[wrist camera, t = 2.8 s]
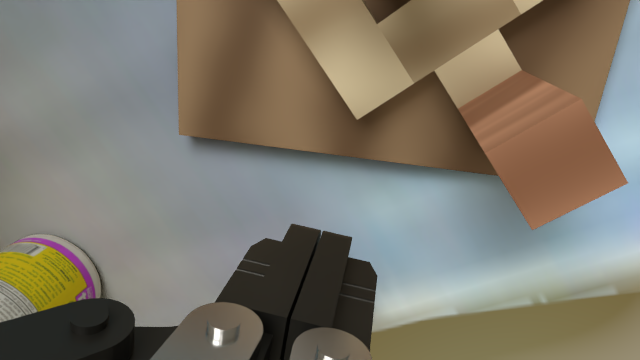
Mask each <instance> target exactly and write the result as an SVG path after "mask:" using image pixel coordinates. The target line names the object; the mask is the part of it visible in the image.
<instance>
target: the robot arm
mask: <svg viewBox="0 0 640 360" xmlns="http://www.w3.org/2000/svg"><path fill="white" fill-rule="evenodd" d="M320 236H321V238H320ZM351 241H352V237H348V236H344V235H340V234H335V233H331V232H327V231H323V232H322V235H321V230H318V229H313V228H309V227H305V226H300V225H296V224H291V226H290V228H289V229H288V231H287V233H286V235H285V237H284V239H283V241H282V242H280V241H276V240H272V239H268V238H265V239H263V240H262V241H260V242H258V243H256V244H254V245H252V246H251V247H250V249H249V250H248V252H247V253H246V255H245V256H244V258H243V260H242V261H241V263H240V264H239V266H238V267H237V270H235V272H234V273H233V275H232V277H231V278H230V280H229V281H228V283H227V284H226V286H225V287H224V289H223V290H222V292H221V294H220V295H219V297H218V298H217V300H216V301H215V303H210V304H206V305H203V306H200V307H198V308H196V309H195V310H193V311H192V312H191V313H190V314H188V315H187V317H186V318H185V319H184V320H183V321H182V322H181V324H180V325H179V326H174V327H135V317H134V314H133V312H132V310H131V309H130V308H129V307H128V306H126V305H125V304H123V303H121V302H119V301H115V300H112V299H106V298H90V299H83V300H79V301H75V302H71V303H67V304H64V305H60V306H57V307H53V308H50V309H46V310H43V311H39V312H36V313H32V314H28V315H25V316H21V317H18V318H14V319H11V320H7V321H4V322H0V360H372V357H371V354H370V342H371V332H372V322H373V312H374V302H375V293H376V292H375V291H376V283H377V275H376V273H375V271H374V269H373V267H372V266H371V264H370V262H366V261H362V260H358V259H353V258H349V257H348V255H349V250H350V246H351Z"/></svg>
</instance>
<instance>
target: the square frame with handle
mask: <svg viewBox="0 0 640 360" xmlns="http://www.w3.org/2000/svg"><path fill="white" fill-rule="evenodd" d="M277 1H278V2H279V4H280V5H281V7H282V8H283V10H284V11H285V13H286V14H287V16H288V17H289V19H290V20H291V22H292V23H293V25H294V26H295V28H296V29H297V31H298V32H299V34H300V35H301V37H302V38H303V40H304V41H305V43H306V44H307V46H308V47H309V49H310V50H311V52H312V53H313V55H314V56H315V58H316V59H317V61H318V62H319V64H320V65H321V67H322V68H323V70H324V71H325V73H326V74H327V76H328V77H329V79H330V80H331V82H332V83H333V85H334V86H335V88H336V89H337V91H338V92H339V94H340V95H341V97H342V98H343V100H344V101H345V103H346V104H347V106H348V107H349V109H350V110H351V112H352V113H353V115H354V116H355V118H356V119H357V120H358V119H360V118H361V117H363V116H364V115H366V114H367V113H369V112H370V111H372V110H374V109H375V108H377V107H378V106H380V105H381V104H383V103H384V102H386V101H388V100H389V99H391V98H392V97H394V96H395V95H397V94H398V93H400V92H401V91H403V90H405V89H406V88H408V87H409V86H411V85H412V84H414V83H415V82H417V81H419V80H420V79H422V78H423V77H425V76H426V75H428V74H429V73H431V72H433V71H435V73H436V74H437V76H438V77H439V79H440V81H441V82H442V84H443V86H444V87H445V89H446V90H447V92H448V94H449V95H450V97H451V99H452V100H453V102H454V103H455V105H456V107H457V108H458V110H459V112H460V113H461V115H462V117H463V118H464V120H465V121H466V123H467V125H468V126H469V128H470V130H471V131H472V133H473V135H474V136H475V138H476V139H477V141H478V143H479V144H480V146H481V148H482V149H483V151H484V153H485V154H486V156H487V157H488V159H489V161H490V162H491V164H492V166H493V167H494V169H495V170H496V172H497V174H498V175H499V177H500V179H501V180H502V182H503V183H504V185H505V187H506V188H507V190H508V192H509V193H510V195H511V196H512V198H513V200H514V201H515V203H516V205H517V206H518V208H519V209H520V211H521V213H522V214H523V216H524V218H525V219H526V221H527V222H528V224H529V226H530V227H531V229H532V230H534V229H536V228H538V227H540V226H542V225H544V224H546V223H548V222H550V221H552V220H554V219H556V218H558V217H560V216H562V215H564V214H566V213H568V212H570V211H572V210H574V209H576V208H578V207H580V206H582V205H584V204H587V203H589V202H591V201H593V200H595V199H597V198H599V197H601V196H603V195H605V194H607V193H609V192H611V191H613V190H615V189H617V188H619V187H621V186H623V185H625V184H627V183H628V182H627V180H626V178H625V177H624V175H623V173H622V171H621V169H620V168H619V166H618V164H617V162H616V160H615V158H614V157H613V155H612V153H611V151H610V149H609V148H608V146H607V144H606V142H605V140H604V139H603V137H602V135H601V133H600V131H599V129H598V128H597V126H596V124H595V122H594V120H593V119H592V117H591V115H590V113H589V111H588V110H587V108H586V106H585V104H584V102H583V100H582V99H581V98H579V97H577V96H575V95H573V94H571V93H569V92H566V91H564V90H562V89H560V88H558V87H556V86H554V85H552V84H550V83H548V82H546V81H544V80H541V79H539V78H537V77H535V76H533V75H531V74H529V73H527V72H525V71H523V70H521V68H520V66H519V64H518V63H517V61H516V59H515V57H514V56H513V54H512V52H511V50H510V49H509V47H508V45H507V43H506V42H505V40H504V38H503V36H502V35H501V33H500V31H499V28H501V27H502V26H504V25H506V24H507V23H509V22H510V21H512V20H513V19H515V18H516V17H518V16H519V15H521V14H523V13H524V12H526V11H527V10H529V9H530V8H532V7H533V6H535V5H537V4H538V3H540V2H541V1H543V0H411V1H409V2H408V3H407V4H405V5H404V6H402V7H401V8H399V9H398V10H397V11H395V12H394V13H392V14H391V15H390V16H388V17H387V18H385V19H384V20H383V21H381V22H380V23H377V21H376V20H375V18H374V16H373V15H372V13H371V12H370V10H369V8H368V7H367V5H366V4H365V2H364V0H277Z"/></svg>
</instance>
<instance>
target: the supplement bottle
mask: <svg viewBox="0 0 640 360" xmlns="http://www.w3.org/2000/svg"><path fill="white" fill-rule="evenodd" d="M100 296H101V283H100V278H99V275H98V272H97V270H96V268H95V266H94V264H93V263H92V261H91V260H90V259H89V257H88V256H87V255H86V254H85V253H84V252H83V251H82V250H81V249H79V248H78V247H77V246H75V245H74V244H72V243H70V242H69V241H67V240H65V239H62V238H60V237H57V236H53V235H46V234H37V235H31V236H27V237H24V238H22V239H20V240H18V241H16V242H14V243H12V244H11V245H9V246H7V247H6V248H4V249H2V250H1V251H0V322H4V321H7V320H11V319H14V318H18V317H21V316H25V315H28V314H32V313H36V312H39V311H43V310H46V309H50V308H53V307H57V306H60V305H64V304H67V303H71V302H75V301H79V300H83V299H90V298H100Z"/></svg>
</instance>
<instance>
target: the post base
mask: <svg viewBox="0 0 640 360" xmlns="http://www.w3.org/2000/svg"><path fill="white" fill-rule="evenodd" d="M409 1H411V0H364V2H365V4H366V5H367V7H368V8H369V10H370V12H371V13H372V15H373V16H374V18H375V20H376V21H377V23H380V22H381V21H383V20H384V19H385V18H387V17H388V16H390V15H391V14H392V13H394V12H395V11H397V10H398V9H399V8H401V7H402V6H404V5H405V4H407V3H408V2H409ZM629 2H630V0H543V1H541V2H540V3H538V4H537V5H535V6H533V7H532V8H530V9H529V10H527V11H526V12H524V13H523V14H521V15H519V16H518V17H516V18H515V19H513V20H512V21H510V22H509V23H507V24H506V25H504V26H502V27H501V28H499V31H500V33H501V35H502V36H503V38H504V40H505V42H506V43H507V45H508V47H509V49H510V50H511V52H512V54H513V56H514V57H515V59H516V61H517V63H518V64H519V66H520V68H521V70H523V71H525V72H527V73H529V74H531V75H533V76H535V77H537V78H539V79H541V80H544V81H546V82H548V83H550V84H552V85H554V86H556V87H558V88H560V89H562V90H564V91H566V92H569V93H571V94H573V95H575V96H577V97H579V98H581V99H582V100H583V102H584V104H585V106H586V108H587V110H588V111H589V113H590V115H591V117H592V119H593V120H594V121H595V118H596V114H597V111H598V107H599V104H600V101H601V97H602V94H603V90H604V87H605V84H606V80H607V77H608V73H609V70H610V67H611V63H612V60H613V56H614V53H615V50H616V46H617V43H618V39H619V36H620V33H621V29H622V26H623V22H624V19H625V16H626V12H627V9H628V5H629ZM177 48H178V105H179V135H186V136H194V137H201V138H209V139H217V140H225V141H232V142H240V143H248V144H256V145H263V146H271V147H279V148H287V149H295V150H302V151H310V152H318V153H326V154H333V155H341V156H349V157H357V158H364V159H372V160H380V161H388V162H395V163H403V164H411V165H419V166H426V167H434V168H442V169H450V170H457V171H465V172H473V173H481V174H488V175H496V176H499V175H498V174H497V172H496V170H495V169H494V167H493V166H492V164H491V162H490V161H489V159H488V157H487V156H486V154H485V153H484V151H483V149H482V148H481V146H480V144H479V143H478V141H477V139H476V138H475V136H474V135H473V133H472V131H471V130H470V128H469V126H468V125H467V123H466V121H465V120H464V118H463V117H462V115H461V113H460V112H459V110H458V108H457V107H456V105H455V103H454V102H453V100H452V99H451V97H450V95H449V94H448V92H447V90H446V89H445V87H444V86H443V84H442V82H441V81H440V79H439V77H438V76H437V74H436V73H435V71H433V72H431V73H429V74H428V75H426V76H425V77H423V78H422V79H420V80H419V81H417V82H415V83H414V84H412V85H411V86H409V87H408V88H406V89H405V90H403V91H401V92H400V93H398V94H397V95H395V96H394V97H392V98H391V99H389V100H388V101H386V102H384V103H383V104H381V105H380V106H378V107H377V108H375V109H374V110H372V111H370V112H369V113H367V114H366V115H364V116H363V117H361V118H360V119H358V120H357V119H356V118H355V116H354V115H353V113H352V112H351V110H350V109H349V107H348V106H347V104H346V103H345V101H344V100H343V98H342V97H341V95H340V94H339V92H338V91H337V89H336V88H335V86H334V85H333V83H332V82H331V80H330V79H329V77H328V76H327V74H326V73H325V71H324V70H323V68H322V67H321V65H320V64H319V62H318V61H317V59H316V58H315V56H314V55H313V53H312V52H311V50H310V49H309V47H308V46H307V44H306V43H305V41H304V40H303V38H302V37H301V35H300V34H299V32H298V31H297V29H296V28H295V26H294V25H293V23H292V22H291V20H290V19H289V17H288V16H287V14H286V13H285V11H284V10H283V8H282V7H281V5H280V4H279V2H278V1H277V0H177Z"/></svg>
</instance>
